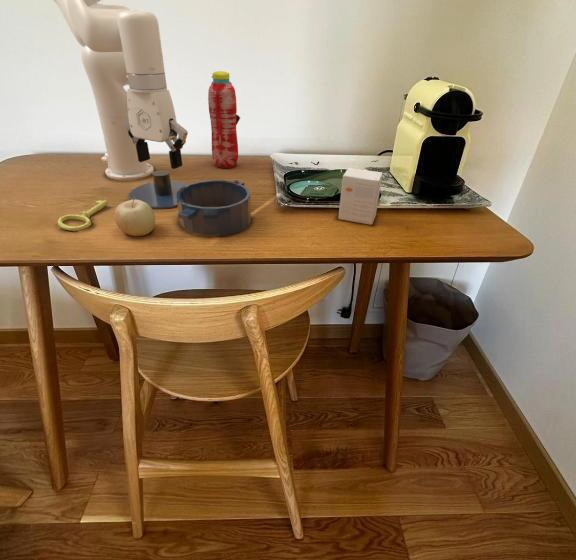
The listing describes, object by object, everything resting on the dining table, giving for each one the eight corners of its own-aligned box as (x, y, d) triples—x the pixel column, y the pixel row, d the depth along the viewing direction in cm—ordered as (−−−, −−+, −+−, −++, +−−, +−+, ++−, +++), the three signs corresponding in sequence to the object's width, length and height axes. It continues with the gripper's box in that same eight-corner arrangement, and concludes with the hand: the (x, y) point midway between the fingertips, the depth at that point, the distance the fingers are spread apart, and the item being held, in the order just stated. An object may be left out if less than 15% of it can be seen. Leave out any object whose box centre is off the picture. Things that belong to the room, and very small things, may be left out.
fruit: (155, 223, 86) (149, 188, 81) (158, 239, 80) (152, 202, 76) (118, 227, 84) (110, 191, 79) (118, 244, 78) (109, 206, 73)
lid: (114, 201, 94) (108, 176, 91) (161, 180, 106) (157, 157, 103) (168, 217, 88) (164, 191, 85) (211, 193, 101) (209, 169, 97)
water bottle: (222, 156, 125) (216, 67, 111) (246, 159, 123) (244, 69, 109) (206, 168, 115) (199, 72, 101) (233, 172, 114) (228, 74, 99)
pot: (156, 231, 83) (151, 202, 79) (214, 197, 98) (212, 172, 95) (217, 249, 78) (215, 220, 74) (268, 211, 93) (268, 185, 89)
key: (111, 207, 91) (109, 198, 90) (86, 232, 81) (83, 223, 80) (80, 205, 92) (78, 197, 90) (51, 230, 81) (48, 221, 80)
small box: (376, 215, 93) (383, 172, 87) (372, 225, 89) (380, 180, 83) (342, 209, 95) (348, 166, 89) (337, 219, 91) (342, 174, 85)
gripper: (103, 81, 83) (120, 162, 92) (167, 88, 77) (179, 174, 86) (130, 77, 89) (143, 154, 98) (192, 84, 82) (200, 165, 92)
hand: (160, 163), depth 92 cm, fingers open, 9 cm apart
